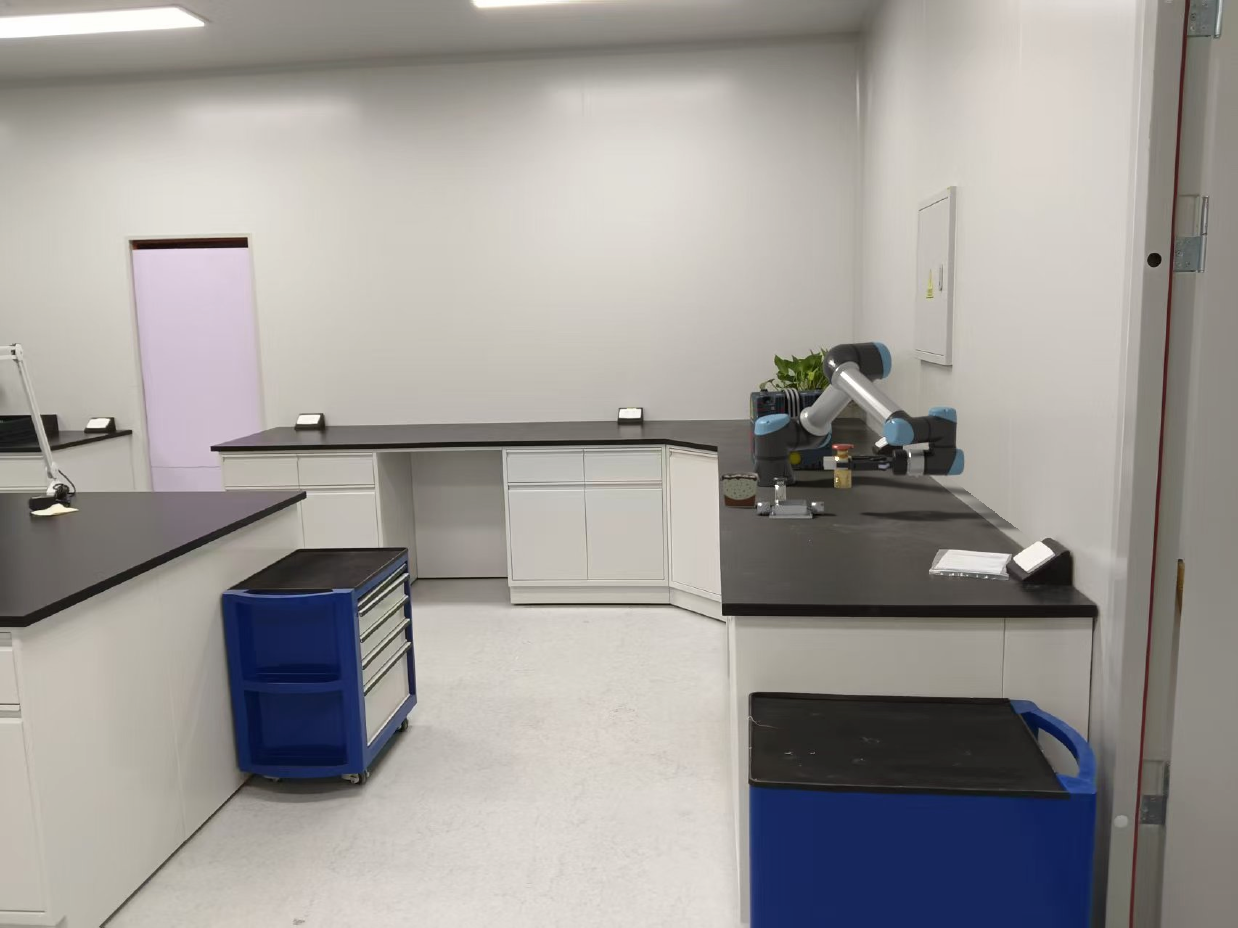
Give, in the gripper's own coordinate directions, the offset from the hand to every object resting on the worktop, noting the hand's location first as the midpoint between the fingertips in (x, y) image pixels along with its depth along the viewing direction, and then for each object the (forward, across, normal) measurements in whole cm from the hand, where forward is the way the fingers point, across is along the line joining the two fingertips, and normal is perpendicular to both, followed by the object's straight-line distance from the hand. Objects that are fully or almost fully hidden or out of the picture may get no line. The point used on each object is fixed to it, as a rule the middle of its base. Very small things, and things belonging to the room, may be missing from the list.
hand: (824, 463), depth 284 cm
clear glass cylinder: (+13, +10, -15) cm, 22 cm away
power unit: (+10, +92, -16) cm, 94 cm away
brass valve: (-5, 0, -7) cm, 9 cm away
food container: (+25, +11, -15) cm, 31 cm away
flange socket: (+10, -3, -15) cm, 18 cm away
